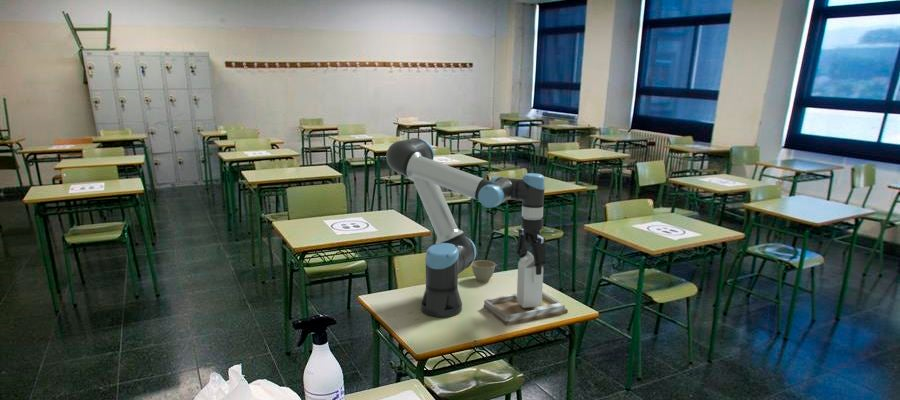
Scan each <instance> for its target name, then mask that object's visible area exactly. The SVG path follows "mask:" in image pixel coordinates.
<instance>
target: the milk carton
mask: <svg viewBox="0 0 900 400" xmlns="http://www.w3.org/2000/svg"><path fill="white" fill-rule="evenodd" d="M534 265H535V261H534V256H533V253H532V252H530V251H529V250H528V251H527V255H526V256H524V257H523V258H522V259H521V260H520V259H519V261H517V279H516V280H517V281H516V282H517V283H516V285H517V287H516V294H517V301H518V302H519V304H520V305H521V306H522V307H523V308H527V307H539V306H542V292H543V290H544V289H543V288H544V286H543V284H544V265H543V266H542V268H541V281H540V282H539V283H533V267H534Z"/></svg>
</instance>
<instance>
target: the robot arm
mask: <svg viewBox="0 0 900 400" xmlns="http://www.w3.org/2000/svg"><path fill="white" fill-rule="evenodd" d="M385 157H386V158H385V159H386V162H387V166H389V168H390V169H391V170H392V171H393V172H396V173H398V174H400V175H403V176H406V177H407V179H408V180H411V181H412V182H413V184H414V187H415V188H416V191H417V193H418V196H419V197H420V200H421V203H422V205H423V207H424V209H425V212H426V214H427V216H428V219H429V221H430V223H431V225H432V228H433V230H434V233H435V235H436V237H437V238H436V239H437V240H436V242H435V244H432V245H431V246H429V247H428V248H427V250H426V252H425V257H424V258H425V290H424V292H423V295H422V298H421V302H420V311H421V312H423V314H425V315H428V316H430V317H434V318H447V317H448V318H449V317H454V316H456V315H458V314H460V313H461V312H462V310H463V302H462V299H461V295H460V292H459V287H458V283H459V282H458V281H459V279H458V278H459V274H460V273H461V272H463V271H464V270H465V269H467V268H469V267H470V266H472V263H473V262H474V261H476V260H475V259H476V256H477V247H476V245H475V243H474V242H473V241H472V239H471V238H468V237H466V234H465V232H464V231H463V230H461V229H460V228H458V226H457V224H456V221H455V219H454V215H453V214H452V212H451V209H450V207H449V205H448V202H447V200H446V198H445V195H444V193H443V191H442V188H445V189H448V190H450V191H452V192H455V193H458V194H461V195H463V196H466V197H468V198H471V199H474V200H477V201H479V203H480V204H481V205H482V206H483V207H484V208H488V209H490V208H491V209H493V208H495V207H498V206H499V205H501V204H502V203H504V202H506V201H507V200H515V201H516V200H517V201H521V202H522V203H521V216H522V217H521V223H520V224H521V225H520V227H521V228H519V229H518V238H517V247H516V255H518V256H519V257H518V258H519V261H520V260H521V259H522V258H523V257H524V256H526V255H527V251H528V252H529V249H530V248H531V249H532V255H533V256H534V261H535V265H534V267H533V283H539V282H540V281H541V268H542V266H543V267H544V266H546V264H547V259H546V240H547V239H546V237H545V236H544V237H542V236H541V232H540V231H541V230H543V227H544V219H543V217H544V202H545V201H544V200H545V191H546V187H545V176H544V175H543V174H541V173H533V172H532V173H531V172H530V173H525V174H523V176H522V178H513V177H503V176H493V177H491V178H490V180H488V179H485V178H482V177H480V176H477V175H475V174H472V173H469V172H466V171H464V170H460V169H458V168H455V167H453V166H450V165H447V164H444V163H441V162H439V161H436V160H434V157H435V151H434V148H433V146H432V144H431V143H430V142H429V141H428V140H426V139H424V138H421V137H420V138H417V137H416V138H415V137H411V138H410V139H404V140H398V141H395V142H393V143H392V144H391V145H390V146H389V147H388V149H387V151H386V155H385ZM441 187H442V188H441Z"/></svg>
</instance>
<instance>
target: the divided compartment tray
mask: <svg viewBox="0 0 900 400" xmlns="http://www.w3.org/2000/svg"><path fill="white" fill-rule="evenodd" d="M565 306H566V305H565V304H563V303H562V302H561V301H559V300H558V299H556V298H555V297H552V296H550V295H549V294H547V293H546V292H544V291H542V306H539V307H527V308H523V307H522V306H521V305H520V304H519V302H518V301H517V293H514V294H507V295H502V296H498V297H497V296H496V297H491V298H486V299H484V303H483V309H484V310H486V311H487V312H488V313H489V314H491V315H492V316H493V317H494V318H496V319H497V320H498V321H499V322H500V323H503V325H505V326H510V325H514V324H515V325H516V324H521V323H524V322H525V323H526V322H529V321H530V322H531V321H535V320H539V319H543V318H549V317H553V316H558V315H563V314H568V313H569V312H568V311H569V310H568V309H567V308H566V307H565Z"/></svg>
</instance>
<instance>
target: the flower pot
mask: <svg viewBox="0 0 900 400" xmlns="http://www.w3.org/2000/svg"><path fill="white" fill-rule="evenodd" d="M471 268H472V273H473V275H474V277H475V279H476V281H477V282H480V283H486V282H489V281H490V280H491V278H492V276H493V274H494V272H495V268H496V263H495V262H493V261H490V260H481V259H480V260H474V261H473V263H472V264H471Z"/></svg>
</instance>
